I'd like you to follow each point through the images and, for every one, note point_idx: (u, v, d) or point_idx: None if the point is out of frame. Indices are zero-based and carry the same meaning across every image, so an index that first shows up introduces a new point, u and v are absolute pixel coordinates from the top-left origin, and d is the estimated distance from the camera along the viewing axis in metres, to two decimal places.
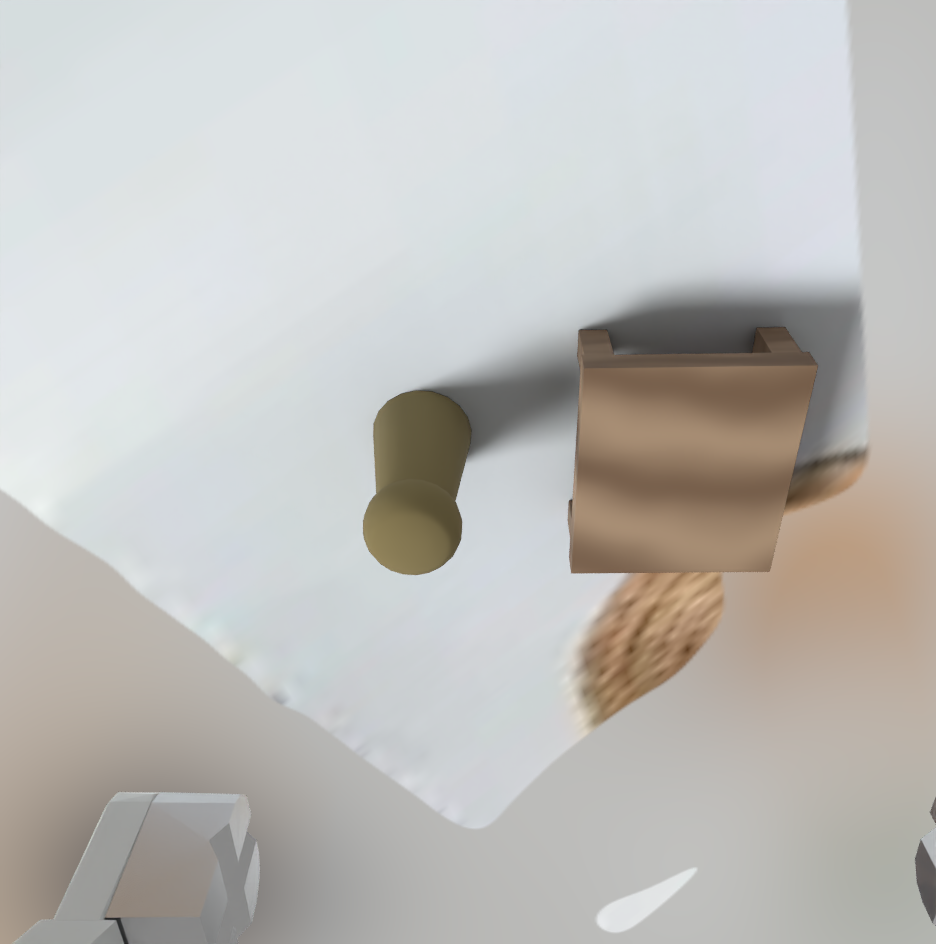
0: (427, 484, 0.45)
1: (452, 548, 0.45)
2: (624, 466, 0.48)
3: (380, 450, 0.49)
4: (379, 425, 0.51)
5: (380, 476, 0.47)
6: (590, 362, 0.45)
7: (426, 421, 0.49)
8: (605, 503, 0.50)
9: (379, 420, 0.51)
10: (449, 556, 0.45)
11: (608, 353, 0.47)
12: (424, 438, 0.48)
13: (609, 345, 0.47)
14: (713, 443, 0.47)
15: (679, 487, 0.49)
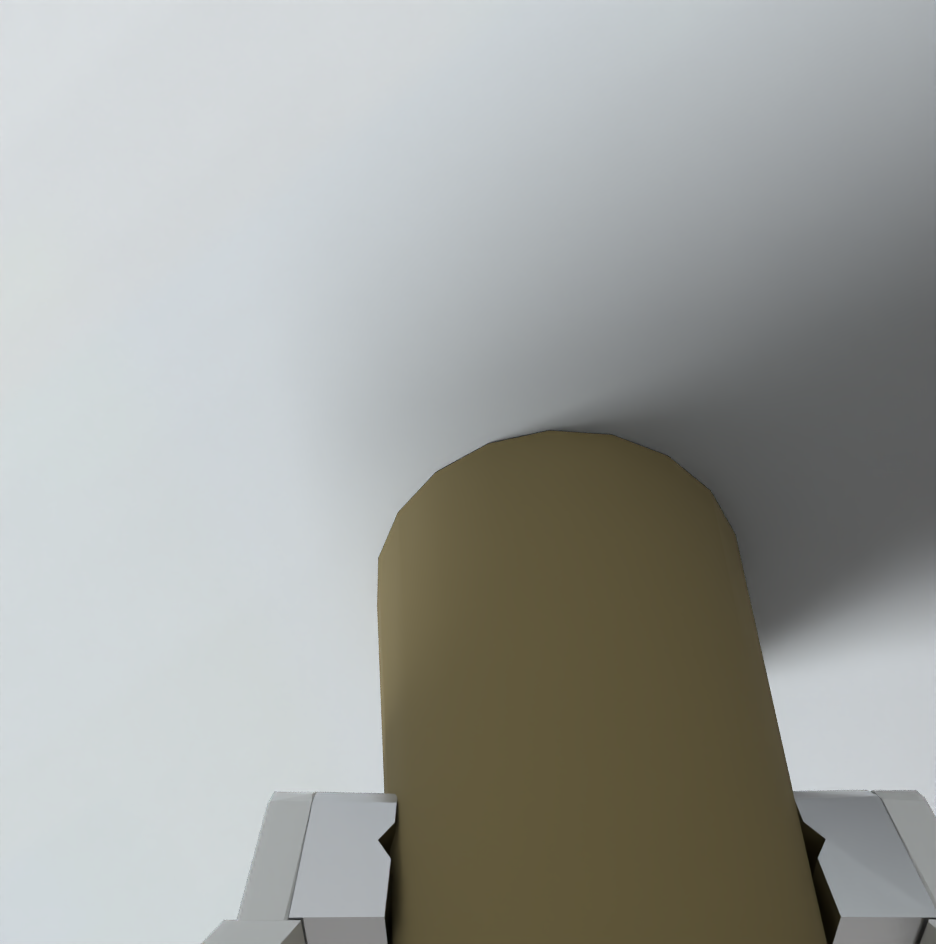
0: None
1: None
2: None
3: (411, 701, 0.10)
4: (403, 570, 0.12)
5: (415, 881, 0.09)
6: None
7: (623, 562, 0.11)
8: None
9: (402, 549, 0.13)
10: None
11: None
12: (638, 657, 0.09)
13: None
14: None
15: None
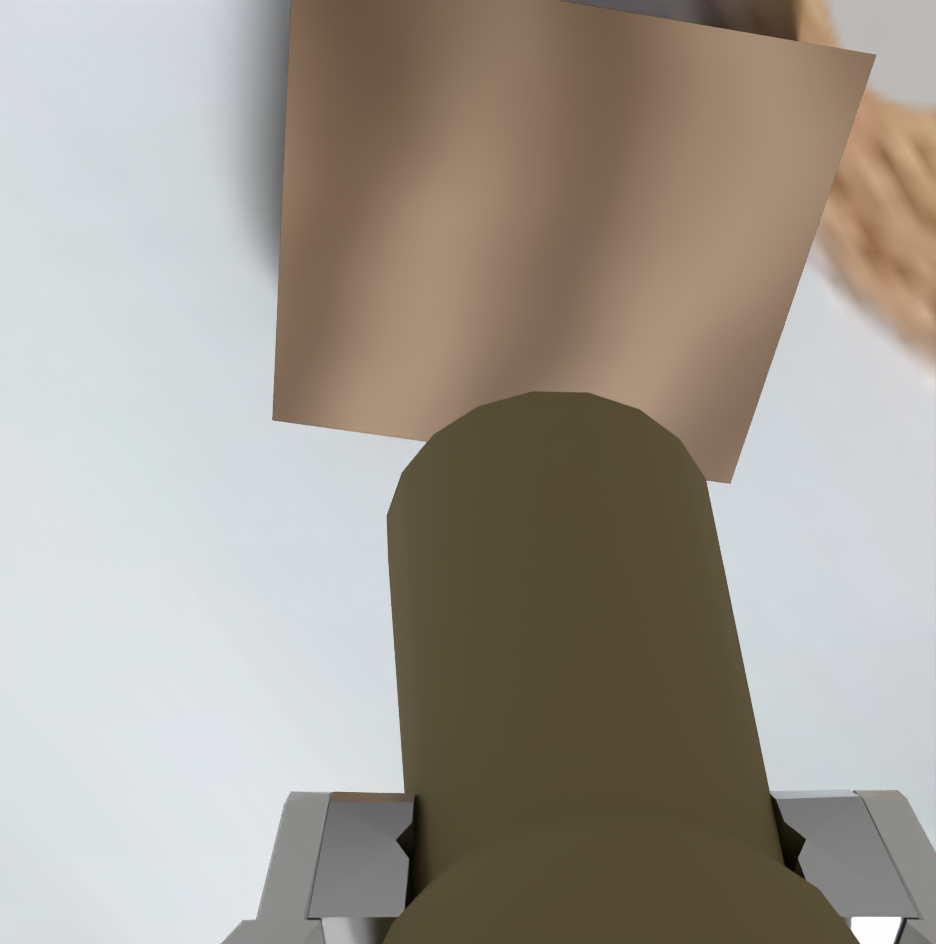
0: (720, 869, 0.07)
1: None
2: (492, 369, 0.25)
3: (416, 622, 0.12)
4: (407, 520, 0.14)
5: (423, 759, 0.10)
6: None
7: (595, 496, 0.12)
8: None
9: (406, 502, 0.14)
10: None
11: None
12: (607, 570, 0.11)
13: None
14: (464, 193, 0.23)
15: (565, 267, 0.23)
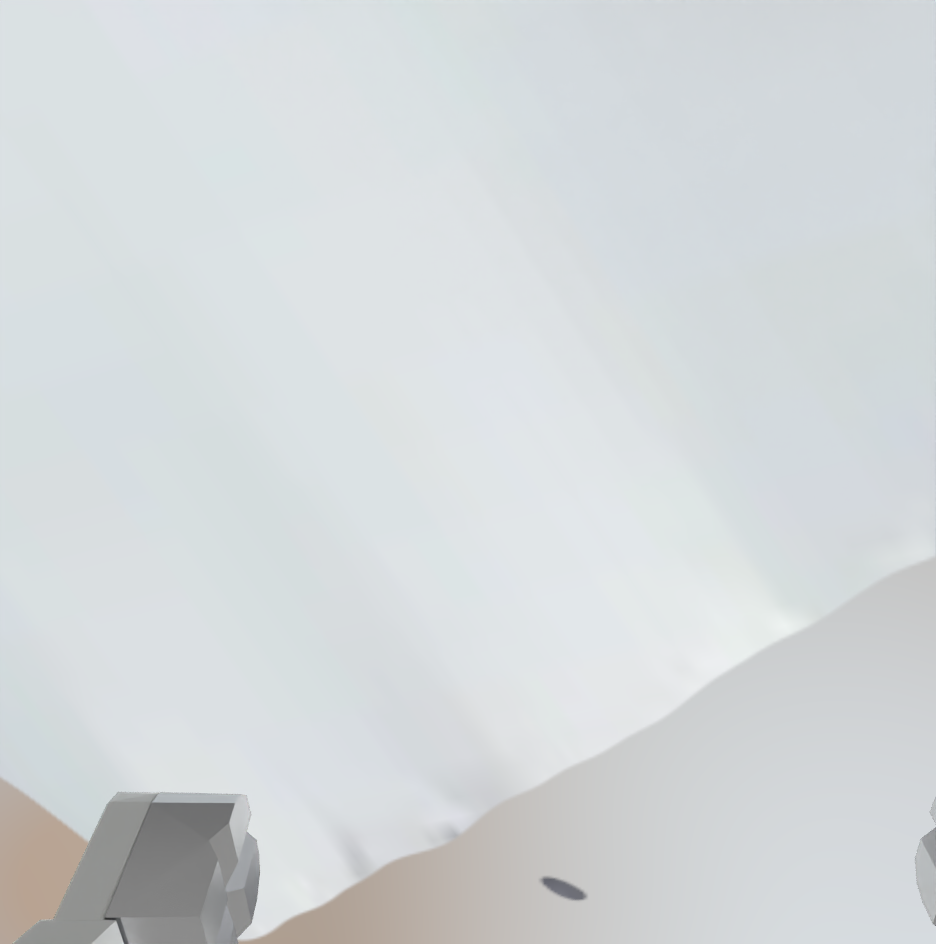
0: None
1: None
2: None
3: None
4: None
5: None
6: None
7: None
8: None
9: None
10: None
11: None
12: None
13: None
14: None
15: None
